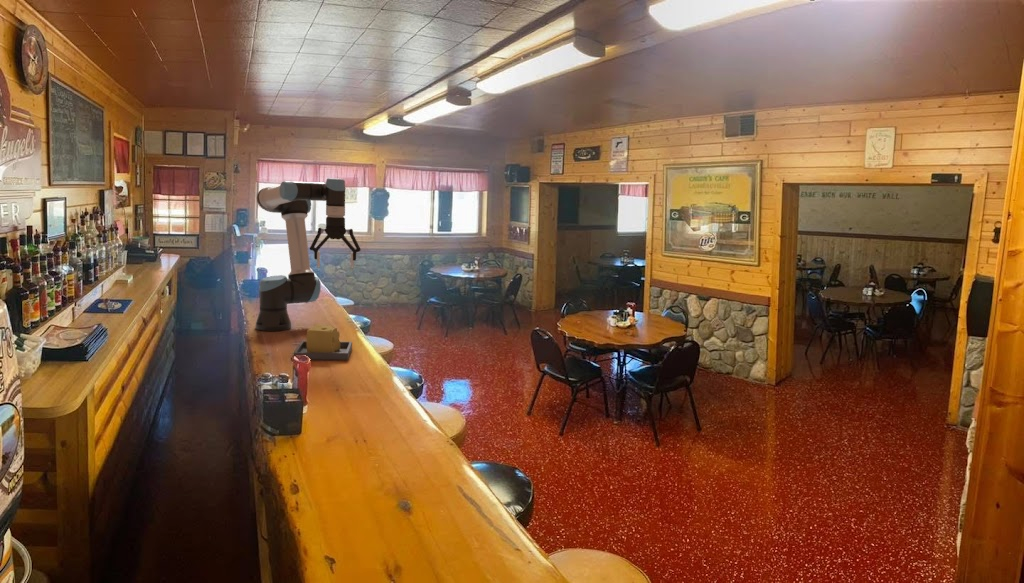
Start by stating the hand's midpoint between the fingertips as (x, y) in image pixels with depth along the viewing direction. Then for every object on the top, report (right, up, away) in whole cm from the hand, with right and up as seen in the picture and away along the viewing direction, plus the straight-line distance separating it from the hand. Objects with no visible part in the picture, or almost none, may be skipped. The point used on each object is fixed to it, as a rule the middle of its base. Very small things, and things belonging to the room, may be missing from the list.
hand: (335, 267), depth 268 cm
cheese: (-1, -34, -15) cm, 37 cm away
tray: (0, -35, -15) cm, 38 cm away
